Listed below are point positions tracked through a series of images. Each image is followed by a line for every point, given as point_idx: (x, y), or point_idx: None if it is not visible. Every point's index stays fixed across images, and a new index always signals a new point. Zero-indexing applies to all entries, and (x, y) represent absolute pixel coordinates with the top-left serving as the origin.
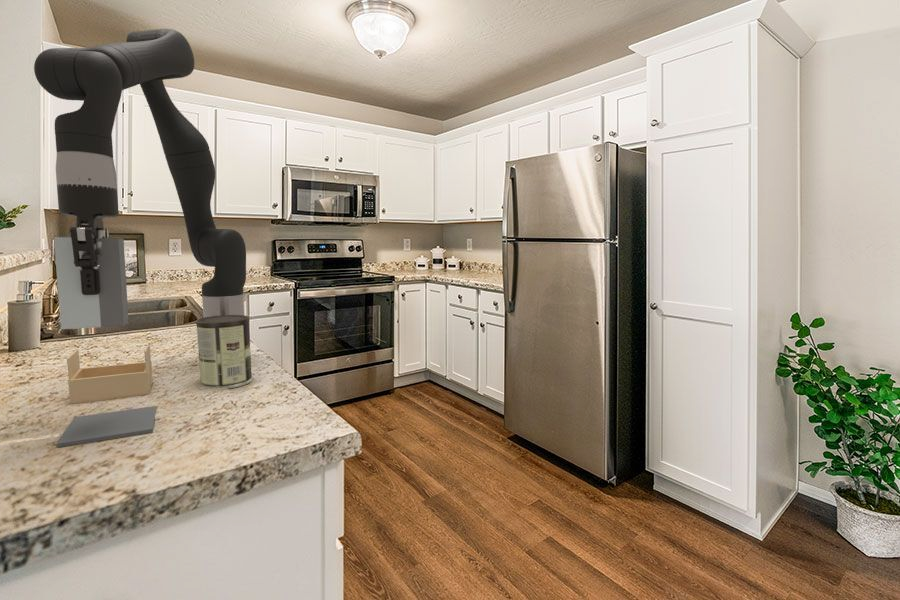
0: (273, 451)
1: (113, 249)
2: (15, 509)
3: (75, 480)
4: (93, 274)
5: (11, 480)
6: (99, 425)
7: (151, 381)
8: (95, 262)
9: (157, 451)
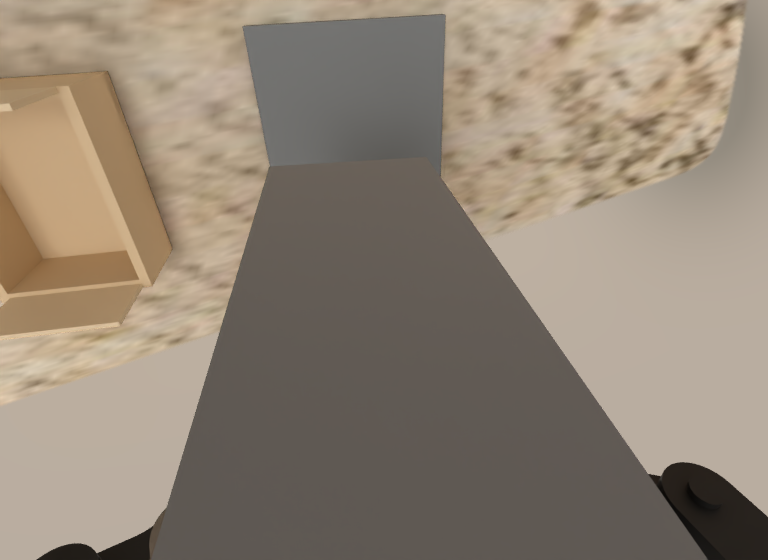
0: None
1: None
2: (655, 175)
3: (611, 122)
4: None
5: (547, 215)
6: (363, 148)
7: None
8: (717, 493)
9: None
